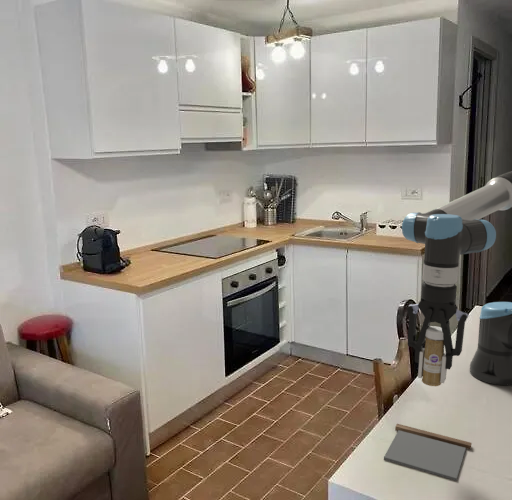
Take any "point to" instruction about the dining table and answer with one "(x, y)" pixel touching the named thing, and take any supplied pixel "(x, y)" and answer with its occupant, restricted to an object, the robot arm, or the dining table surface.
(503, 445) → the dining table surface
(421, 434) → the brown wooden strip
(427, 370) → the sprinkles bottle
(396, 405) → the dining table surface
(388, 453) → the mat
